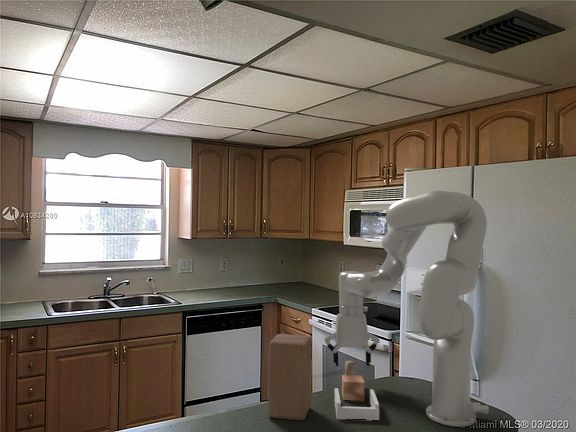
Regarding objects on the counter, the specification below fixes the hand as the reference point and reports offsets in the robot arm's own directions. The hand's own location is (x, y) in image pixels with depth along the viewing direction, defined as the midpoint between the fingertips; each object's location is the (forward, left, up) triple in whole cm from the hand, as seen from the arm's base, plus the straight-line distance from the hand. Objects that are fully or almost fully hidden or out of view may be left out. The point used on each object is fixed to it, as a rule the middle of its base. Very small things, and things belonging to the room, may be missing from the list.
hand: (352, 365), depth 149 cm
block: (+1, +6, -6) cm, 9 cm away
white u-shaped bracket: (+1, +21, -6) cm, 22 cm away
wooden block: (+19, +23, -7) cm, 31 cm away
